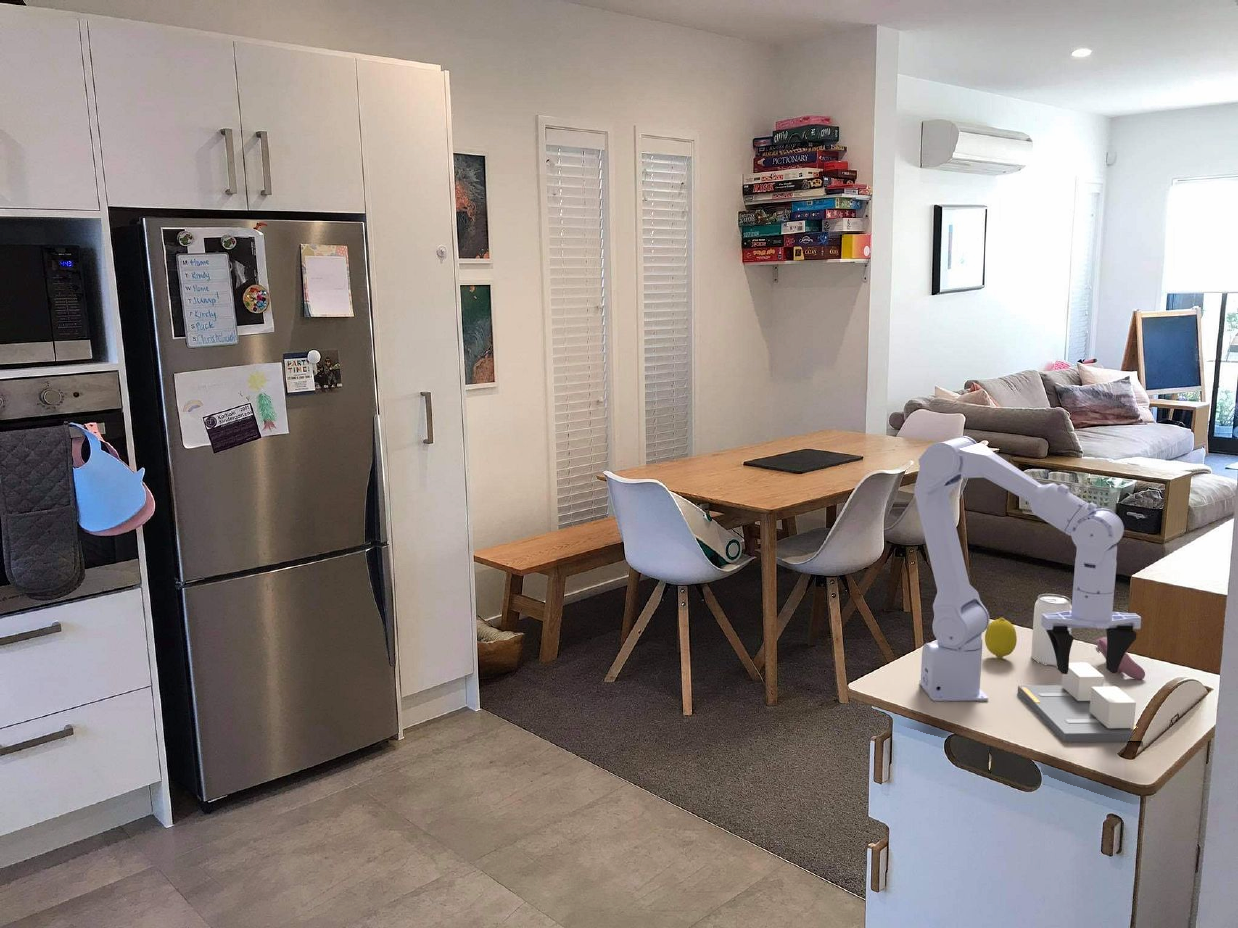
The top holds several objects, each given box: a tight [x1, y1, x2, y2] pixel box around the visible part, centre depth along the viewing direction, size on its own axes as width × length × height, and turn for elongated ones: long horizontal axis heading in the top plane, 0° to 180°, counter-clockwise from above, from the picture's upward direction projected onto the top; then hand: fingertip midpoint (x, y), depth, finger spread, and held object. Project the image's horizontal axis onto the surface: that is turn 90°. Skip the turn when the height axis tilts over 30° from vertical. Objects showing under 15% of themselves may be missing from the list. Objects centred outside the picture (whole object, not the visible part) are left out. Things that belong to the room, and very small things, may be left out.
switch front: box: [1089, 686, 1137, 728], centre depth 153 cm, size 4×6×4 cm, turn 0°
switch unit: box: [1017, 684, 1137, 743], centre depth 159 cm, size 12×18×2 cm, turn 0°
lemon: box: [984, 617, 1018, 659], centre depth 183 cm, size 6×6×8 cm
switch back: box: [1061, 662, 1105, 701], centre depth 163 cm, size 4×6×4 cm, turn 0°
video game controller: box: [1095, 636, 1146, 681], centre depth 177 cm, size 10×5×7 cm, turn 175°
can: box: [1030, 593, 1072, 666], centre depth 181 cm, size 6×6×12 cm
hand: (1086, 671), depth 153 cm, fingers open, 7 cm apart
